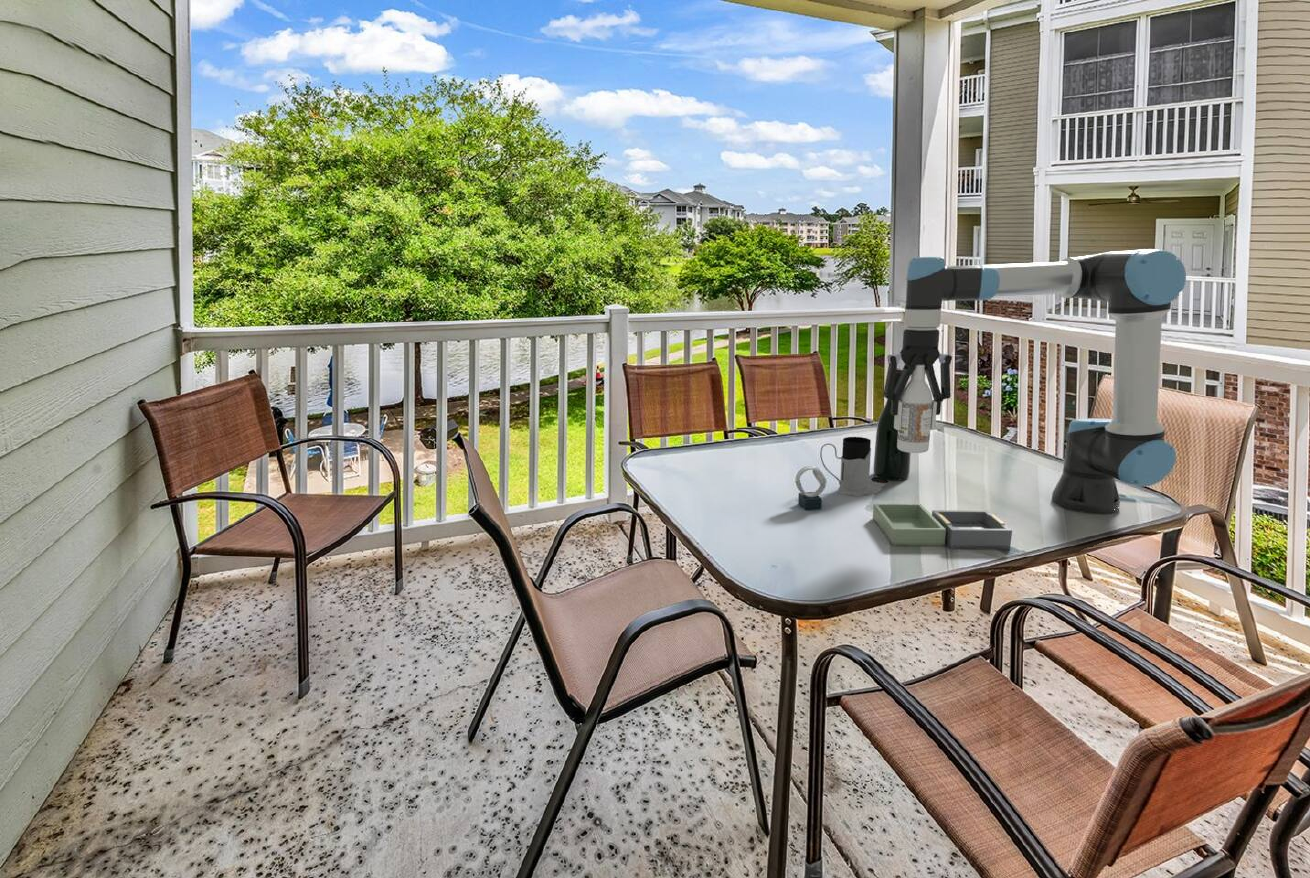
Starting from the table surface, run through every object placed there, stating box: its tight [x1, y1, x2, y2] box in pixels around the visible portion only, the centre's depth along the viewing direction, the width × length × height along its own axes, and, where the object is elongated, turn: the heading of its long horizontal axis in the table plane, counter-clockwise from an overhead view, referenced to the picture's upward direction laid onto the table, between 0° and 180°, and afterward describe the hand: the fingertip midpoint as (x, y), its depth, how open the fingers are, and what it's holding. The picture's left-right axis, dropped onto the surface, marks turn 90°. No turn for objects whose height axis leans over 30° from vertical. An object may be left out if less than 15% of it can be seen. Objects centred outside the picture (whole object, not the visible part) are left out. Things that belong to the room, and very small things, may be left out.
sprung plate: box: [951, 523, 988, 529], centre depth 158 cm, size 10×10×1 cm
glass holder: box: [819, 436, 872, 497], centre depth 192 cm, size 9×14×15 cm, turn 80°
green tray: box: [872, 503, 946, 547], centre depth 162 cm, size 12×18×4 cm, turn 177°
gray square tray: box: [931, 509, 1013, 550], centre depth 157 cm, size 13×13×5 cm
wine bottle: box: [872, 367, 912, 481], centre depth 203 cm, size 10×10×33 cm
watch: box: [794, 465, 828, 512], centre depth 180 cm, size 6×8×11 cm
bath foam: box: [897, 365, 933, 454], centre depth 155 cm, size 7×7×20 cm
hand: (914, 428), depth 157 cm, fingers closed on bath foam, 7 cm apart
